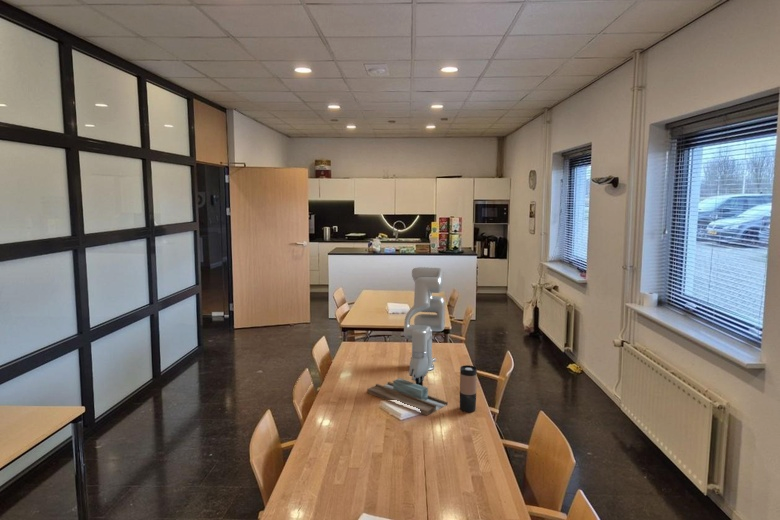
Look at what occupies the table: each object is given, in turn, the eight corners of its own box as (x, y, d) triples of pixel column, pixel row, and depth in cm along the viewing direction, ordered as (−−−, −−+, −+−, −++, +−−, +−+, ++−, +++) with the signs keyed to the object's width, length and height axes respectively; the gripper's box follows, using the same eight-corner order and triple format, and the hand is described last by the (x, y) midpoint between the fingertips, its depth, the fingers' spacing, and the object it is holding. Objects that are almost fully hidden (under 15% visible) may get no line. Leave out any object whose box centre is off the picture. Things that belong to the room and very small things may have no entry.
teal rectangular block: (399, 389, 245) (399, 378, 244) (427, 399, 233) (427, 387, 232) (393, 392, 241) (393, 381, 240) (421, 402, 229) (421, 390, 228)
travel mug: (477, 407, 224) (478, 366, 222) (473, 414, 217) (474, 371, 215) (462, 404, 227) (462, 364, 225) (457, 411, 221) (458, 369, 218)
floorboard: (388, 383, 253) (388, 378, 253) (447, 404, 228) (447, 399, 227) (367, 392, 241) (367, 387, 241) (426, 415, 216) (426, 409, 216)
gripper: (422, 348, 247) (422, 382, 250) (404, 355, 236) (403, 391, 239) (434, 351, 242) (434, 386, 244) (415, 359, 231) (415, 395, 234)
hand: (419, 388), depth 241 cm, fingers closed
